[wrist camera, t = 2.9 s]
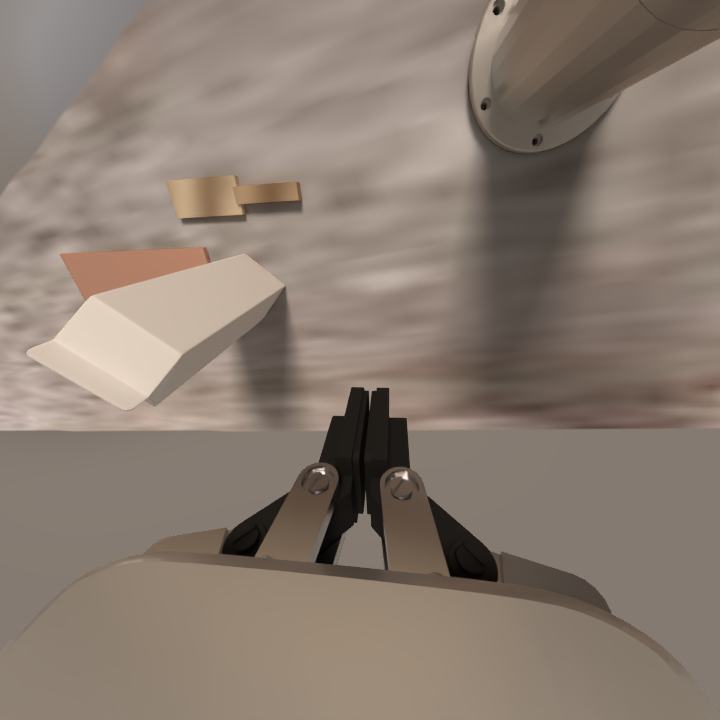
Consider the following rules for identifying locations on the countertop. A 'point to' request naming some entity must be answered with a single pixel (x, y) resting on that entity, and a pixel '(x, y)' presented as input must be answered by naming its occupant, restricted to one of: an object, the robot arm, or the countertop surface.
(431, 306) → the countertop surface
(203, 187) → the turner
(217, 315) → the milk
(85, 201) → the countertop surface
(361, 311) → the countertop surface
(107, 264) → the mat
